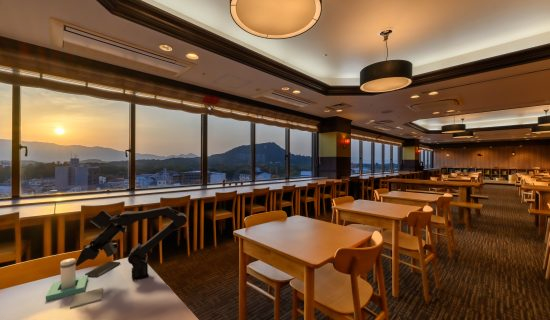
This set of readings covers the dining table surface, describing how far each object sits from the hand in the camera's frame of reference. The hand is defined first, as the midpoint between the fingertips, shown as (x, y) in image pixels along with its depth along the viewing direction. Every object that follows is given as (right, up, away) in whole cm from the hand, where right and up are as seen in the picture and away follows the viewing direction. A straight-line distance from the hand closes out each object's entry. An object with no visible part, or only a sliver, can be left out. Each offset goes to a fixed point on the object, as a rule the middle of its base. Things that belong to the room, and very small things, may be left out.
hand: (80, 261), depth 107 cm
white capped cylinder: (-4, -12, -1) cm, 13 cm away
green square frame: (-4, -12, -1) cm, 13 cm away
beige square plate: (+10, -12, -8) cm, 18 cm away
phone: (-2, -12, +17) cm, 21 cm away
